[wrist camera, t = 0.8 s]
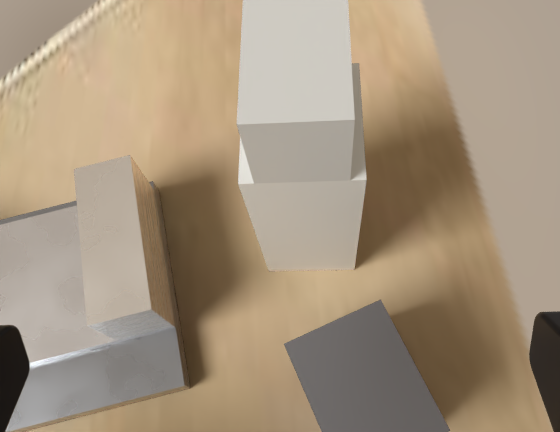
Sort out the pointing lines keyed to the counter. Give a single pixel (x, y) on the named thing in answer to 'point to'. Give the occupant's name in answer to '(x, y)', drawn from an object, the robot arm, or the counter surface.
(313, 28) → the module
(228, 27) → the counter surface
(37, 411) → the mounting plate
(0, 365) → the robot arm
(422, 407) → the block
